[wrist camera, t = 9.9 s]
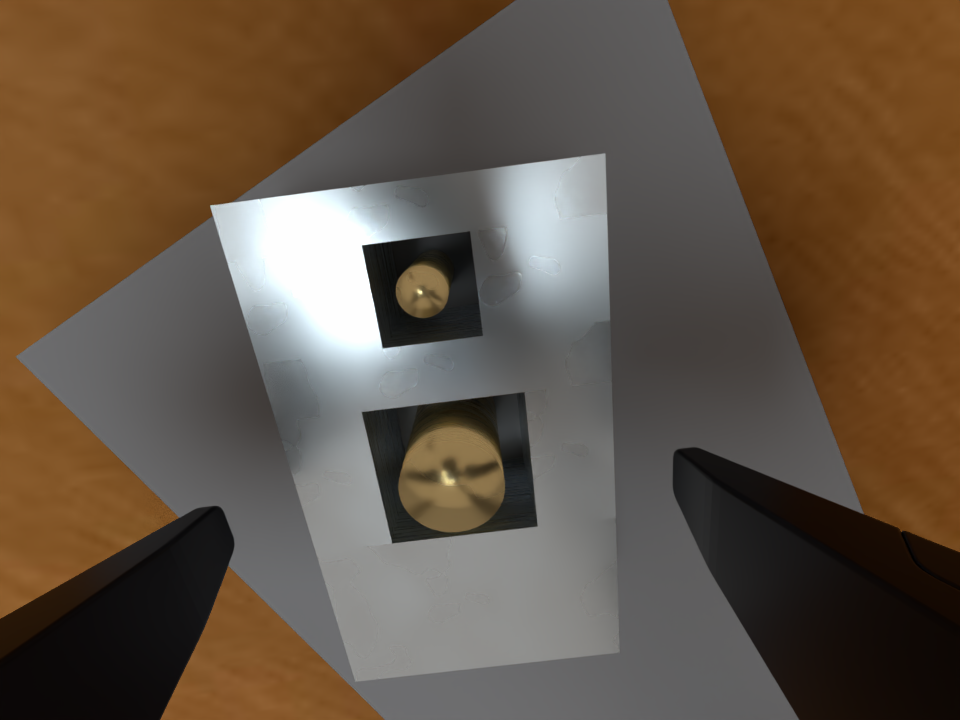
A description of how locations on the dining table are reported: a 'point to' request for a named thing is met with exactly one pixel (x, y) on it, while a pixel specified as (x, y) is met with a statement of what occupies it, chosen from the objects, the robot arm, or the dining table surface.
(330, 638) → the mount board
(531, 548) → the silver rectangular block
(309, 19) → the dining table surface
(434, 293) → the pair of brass cylinders
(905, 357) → the dining table surface
